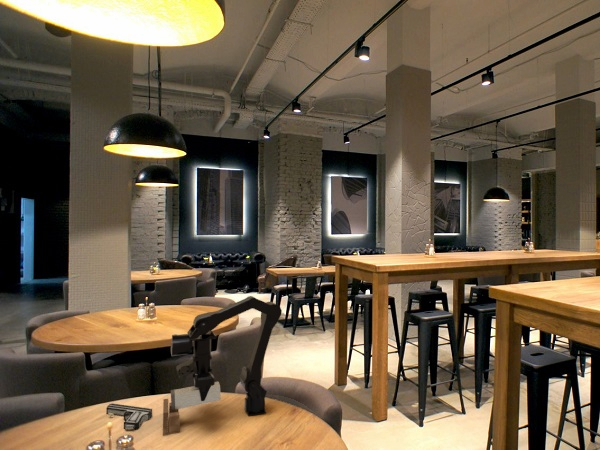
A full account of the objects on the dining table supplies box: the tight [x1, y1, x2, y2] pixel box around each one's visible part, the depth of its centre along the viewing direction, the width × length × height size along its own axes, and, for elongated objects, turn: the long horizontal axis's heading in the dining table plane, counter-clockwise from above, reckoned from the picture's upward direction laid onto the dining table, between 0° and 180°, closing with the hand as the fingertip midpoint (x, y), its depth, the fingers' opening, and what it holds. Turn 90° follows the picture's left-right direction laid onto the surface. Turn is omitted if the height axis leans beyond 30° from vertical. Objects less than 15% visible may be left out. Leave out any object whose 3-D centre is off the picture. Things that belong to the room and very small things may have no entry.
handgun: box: [106, 403, 153, 431], centre depth 128 cm, size 3×19×12 cm
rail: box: [170, 381, 222, 410], centre depth 127 cm, size 16×4×5 cm, turn 110°
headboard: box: [162, 398, 180, 436], centre depth 124 cm, size 5×11×7 cm, turn 20°
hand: (202, 398), depth 127 cm, fingers closed on rail, 4 cm apart
